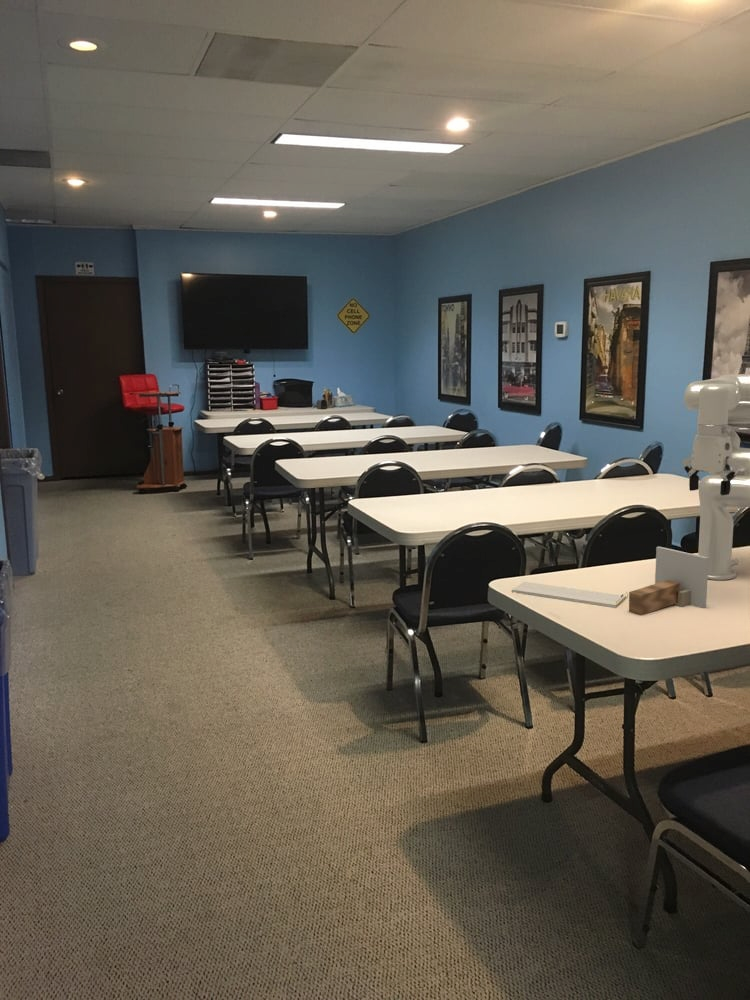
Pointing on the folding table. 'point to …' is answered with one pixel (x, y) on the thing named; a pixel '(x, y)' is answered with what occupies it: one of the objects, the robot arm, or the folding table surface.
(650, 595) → the rail
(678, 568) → the panel
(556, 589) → the grey flat board
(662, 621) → the folding table surface
